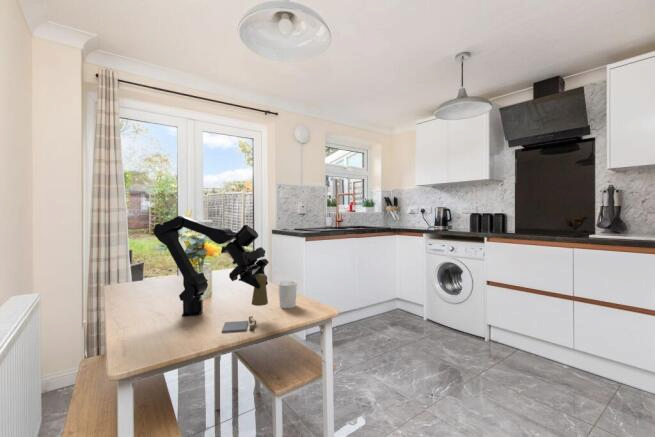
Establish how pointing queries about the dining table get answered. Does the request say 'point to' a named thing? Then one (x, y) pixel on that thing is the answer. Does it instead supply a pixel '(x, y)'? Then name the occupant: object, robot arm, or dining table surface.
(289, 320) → the dining table surface
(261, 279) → the olive pawn
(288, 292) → the white cup
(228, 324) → the slate pad
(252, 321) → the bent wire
